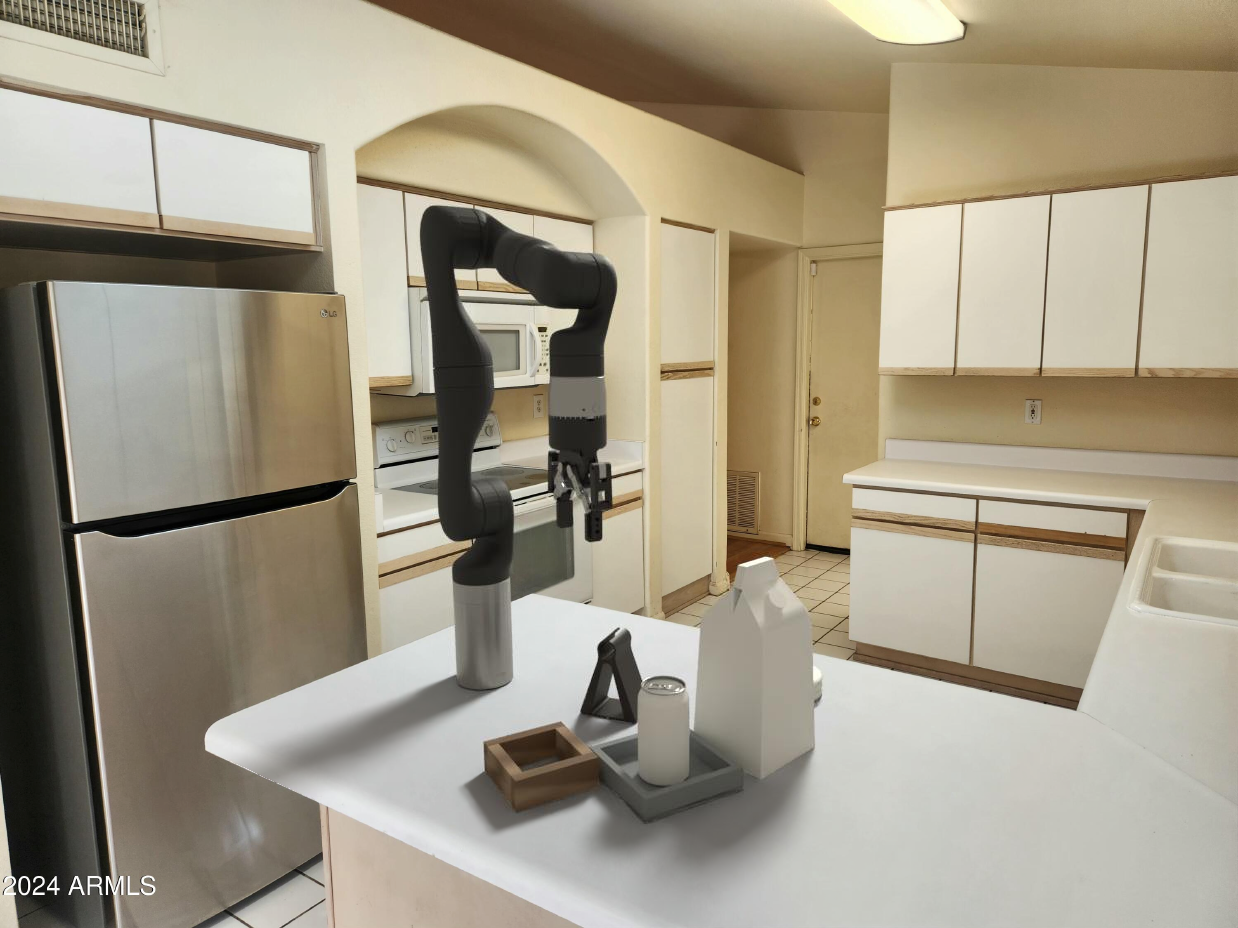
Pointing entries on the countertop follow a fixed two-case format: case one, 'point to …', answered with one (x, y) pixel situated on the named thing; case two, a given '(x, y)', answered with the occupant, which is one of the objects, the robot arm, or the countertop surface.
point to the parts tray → (704, 783)
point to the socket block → (543, 782)
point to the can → (663, 731)
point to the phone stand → (622, 665)
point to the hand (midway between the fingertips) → (578, 533)
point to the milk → (756, 672)
